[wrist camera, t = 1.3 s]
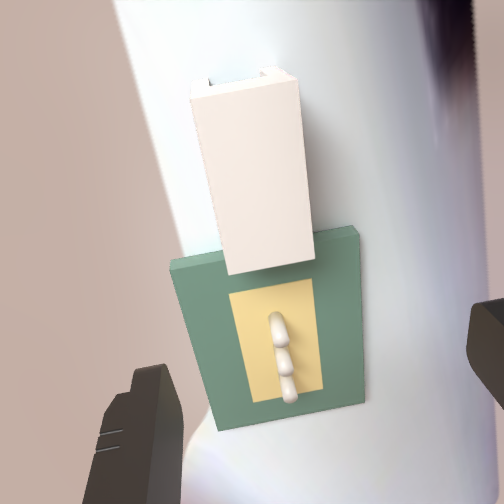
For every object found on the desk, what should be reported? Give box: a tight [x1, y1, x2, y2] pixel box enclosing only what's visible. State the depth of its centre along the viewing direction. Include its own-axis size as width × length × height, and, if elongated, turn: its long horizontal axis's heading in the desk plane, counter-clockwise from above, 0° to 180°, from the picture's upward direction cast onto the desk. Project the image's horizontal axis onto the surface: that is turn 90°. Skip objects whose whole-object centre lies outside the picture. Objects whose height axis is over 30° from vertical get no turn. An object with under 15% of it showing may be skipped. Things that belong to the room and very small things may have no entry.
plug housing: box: [190, 66, 315, 275], centre depth 25 cm, size 10×5×7 cm, turn 9°
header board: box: [170, 225, 365, 431], centre depth 34 cm, size 18×14×4 cm
